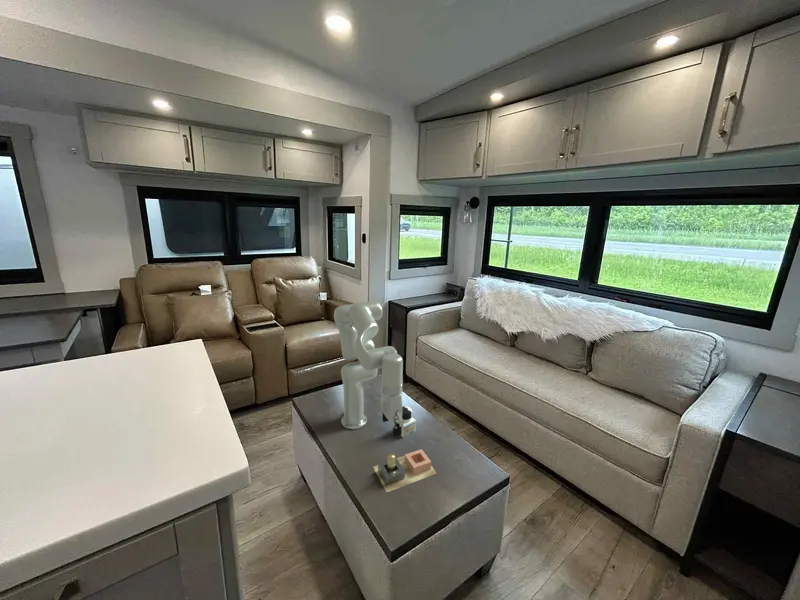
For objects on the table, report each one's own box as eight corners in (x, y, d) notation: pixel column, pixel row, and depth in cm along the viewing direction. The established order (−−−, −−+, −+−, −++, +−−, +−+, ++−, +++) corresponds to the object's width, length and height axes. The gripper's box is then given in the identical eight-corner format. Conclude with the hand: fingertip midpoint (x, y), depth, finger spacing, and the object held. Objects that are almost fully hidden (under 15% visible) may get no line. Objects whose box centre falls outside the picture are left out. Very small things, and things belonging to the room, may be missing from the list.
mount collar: (377, 470, 132) (377, 463, 131) (395, 464, 136) (396, 457, 135) (385, 485, 125) (385, 478, 124) (404, 478, 129) (404, 471, 128)
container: (403, 440, 152) (404, 416, 148) (392, 431, 158) (393, 408, 154) (415, 433, 157) (416, 410, 153) (405, 425, 162) (406, 402, 159)
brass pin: (386, 473, 131) (386, 454, 129) (392, 470, 132) (393, 452, 130) (389, 478, 129) (389, 459, 126) (396, 476, 130) (396, 457, 127)
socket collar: (404, 461, 137) (404, 454, 136) (421, 455, 141) (421, 448, 140) (413, 475, 130) (413, 468, 129) (431, 468, 134) (431, 461, 133)
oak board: (372, 469, 135) (372, 466, 134) (419, 453, 144) (419, 450, 144) (386, 495, 123) (386, 492, 122) (436, 476, 132) (437, 473, 132)
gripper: (373, 378, 126) (374, 418, 131) (392, 401, 111) (392, 445, 116) (391, 375, 129) (391, 413, 134) (412, 396, 114) (411, 439, 119)
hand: (391, 428), depth 125 cm, fingers open, 9 cm apart
